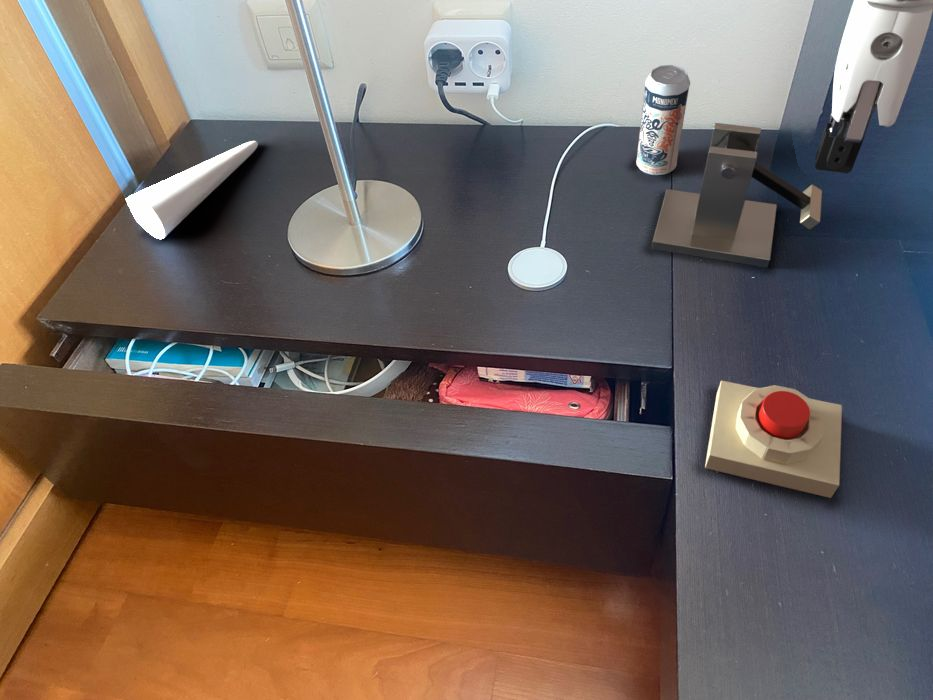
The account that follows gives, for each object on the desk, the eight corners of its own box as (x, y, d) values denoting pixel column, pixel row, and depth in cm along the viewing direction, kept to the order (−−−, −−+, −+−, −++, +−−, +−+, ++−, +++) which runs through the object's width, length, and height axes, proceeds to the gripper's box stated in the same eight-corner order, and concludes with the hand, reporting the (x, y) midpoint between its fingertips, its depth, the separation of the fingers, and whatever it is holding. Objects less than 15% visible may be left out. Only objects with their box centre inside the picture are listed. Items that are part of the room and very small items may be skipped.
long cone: (290, 171, 96) (171, 245, 85) (259, 160, 99) (140, 230, 88) (278, 131, 92) (152, 203, 81) (246, 121, 95) (120, 189, 85)
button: (805, 408, 60) (811, 395, 59) (802, 443, 58) (809, 432, 57) (760, 398, 61) (764, 386, 60) (756, 433, 59) (761, 421, 58)
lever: (808, 201, 76) (826, 187, 74) (805, 233, 73) (824, 219, 71) (715, 141, 74) (731, 124, 72) (708, 170, 71) (725, 154, 69)
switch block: (834, 419, 63) (848, 392, 60) (831, 498, 59) (846, 474, 56) (716, 394, 66) (725, 367, 63) (704, 468, 61) (713, 443, 58)
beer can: (628, 170, 87) (638, 79, 78) (647, 149, 89) (659, 58, 80) (664, 183, 85) (678, 91, 76) (683, 161, 87) (699, 69, 78)
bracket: (774, 212, 80) (803, 120, 71) (767, 268, 75) (797, 176, 66) (665, 197, 84) (679, 106, 74) (651, 249, 78) (665, 159, 69)
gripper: (968, 15, 49) (875, 222, 63) (953, -74, 58) (875, 126, 72) (848, 8, 51) (784, 210, 65) (851, -77, 60) (795, 118, 74)
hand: (832, 166), depth 68 cm, fingers closed
